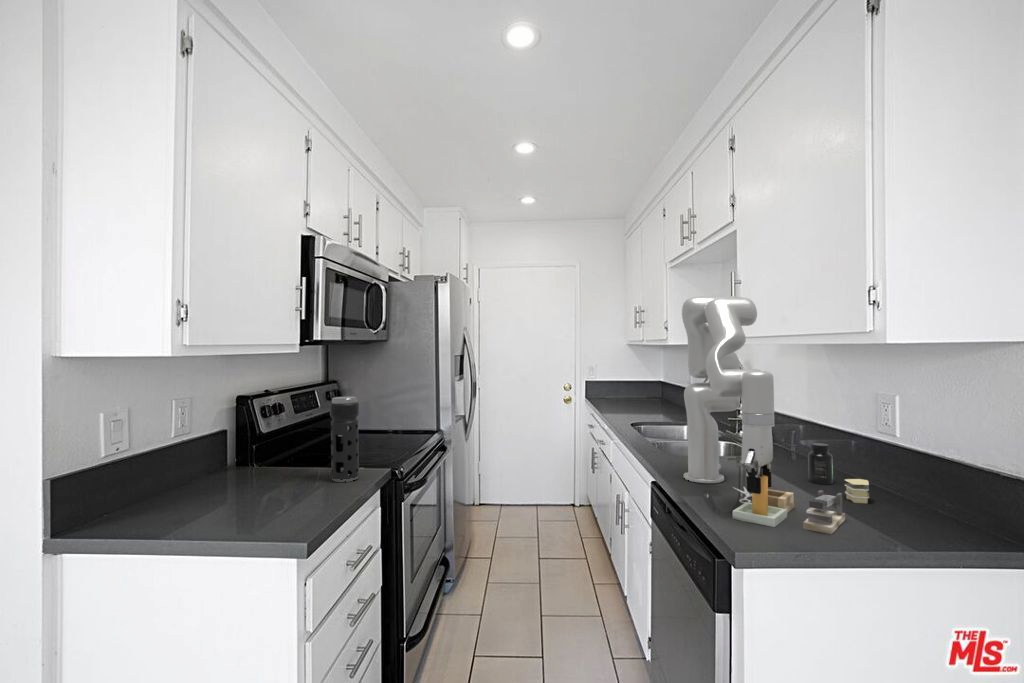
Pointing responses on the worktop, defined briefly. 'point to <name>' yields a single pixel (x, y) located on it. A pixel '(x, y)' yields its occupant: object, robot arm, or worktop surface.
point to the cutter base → (825, 527)
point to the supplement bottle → (820, 464)
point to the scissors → (745, 494)
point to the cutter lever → (822, 501)
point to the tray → (772, 519)
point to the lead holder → (781, 499)
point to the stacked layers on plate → (857, 490)
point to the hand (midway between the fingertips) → (759, 489)
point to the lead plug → (761, 497)
